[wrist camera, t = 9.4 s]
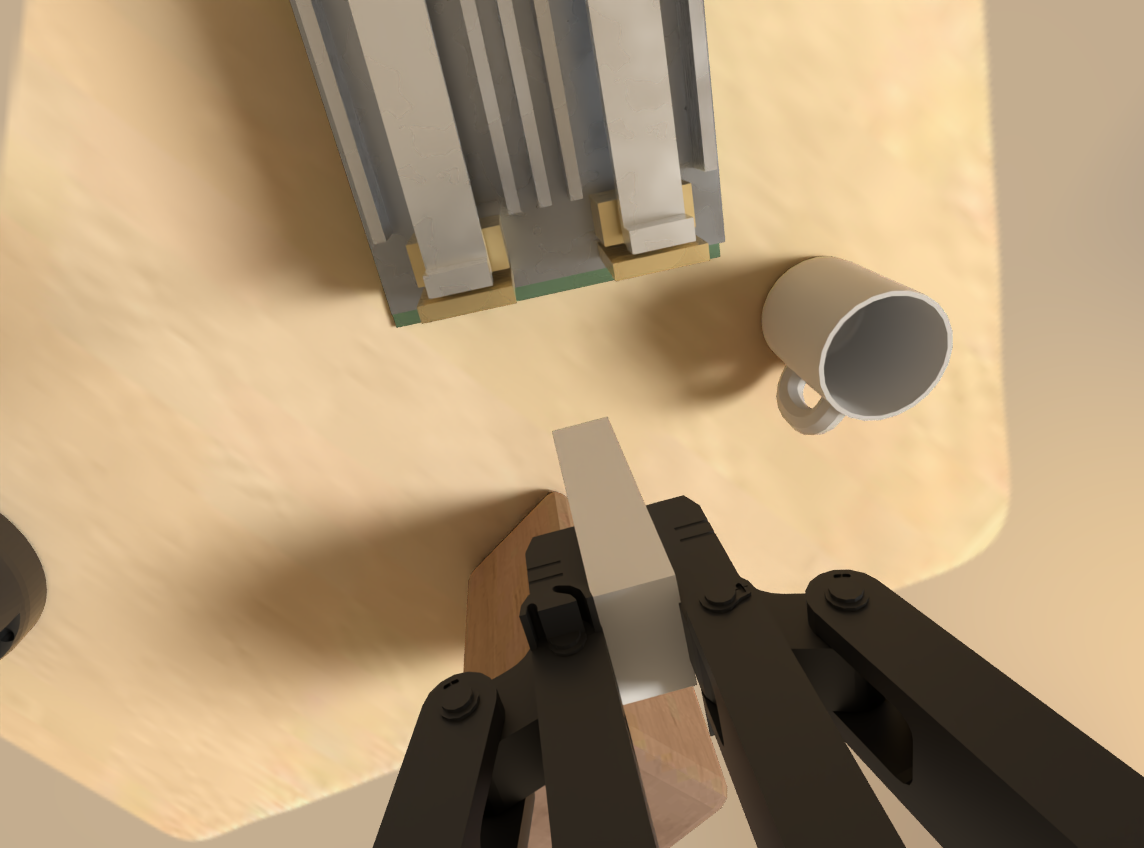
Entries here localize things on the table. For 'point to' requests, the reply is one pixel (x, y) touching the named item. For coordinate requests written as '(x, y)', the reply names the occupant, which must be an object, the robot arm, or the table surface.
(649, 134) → the silver long flat bar
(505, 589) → the wooden block
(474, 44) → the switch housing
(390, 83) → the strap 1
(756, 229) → the table surface
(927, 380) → the cup
